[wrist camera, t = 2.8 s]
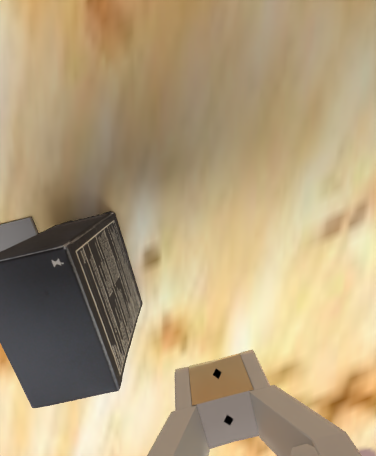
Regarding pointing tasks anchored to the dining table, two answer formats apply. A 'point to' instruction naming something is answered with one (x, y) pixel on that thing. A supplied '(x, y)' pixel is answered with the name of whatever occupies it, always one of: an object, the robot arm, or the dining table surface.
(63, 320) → the small box
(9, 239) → the mat
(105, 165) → the dining table surface
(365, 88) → the dining table surface
